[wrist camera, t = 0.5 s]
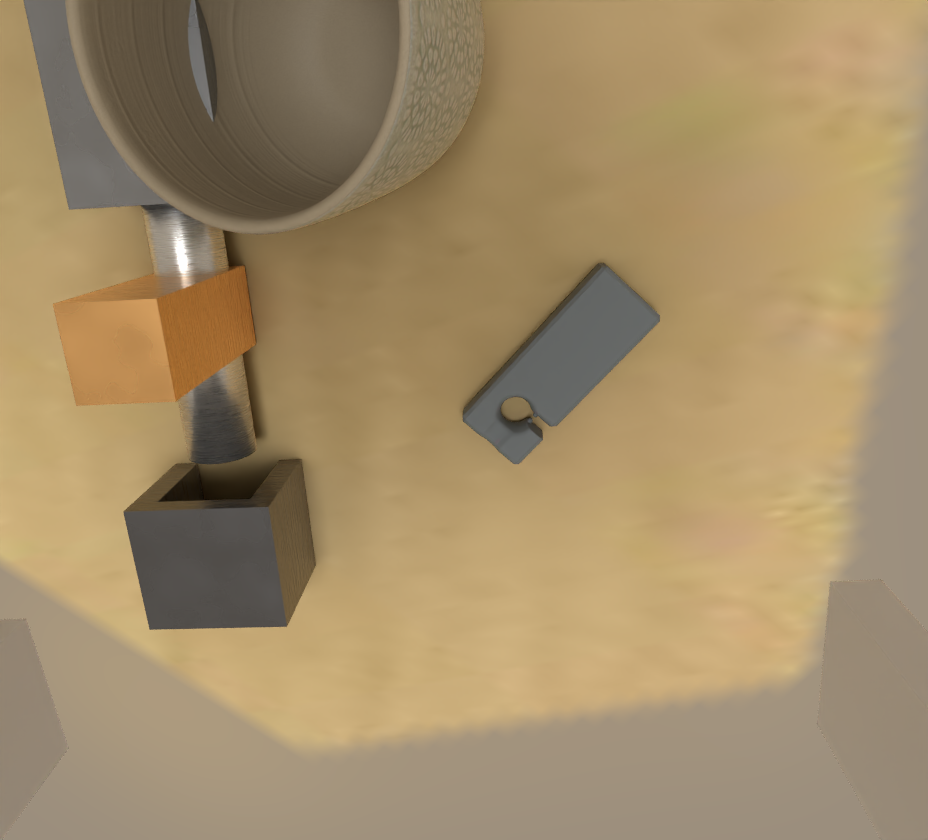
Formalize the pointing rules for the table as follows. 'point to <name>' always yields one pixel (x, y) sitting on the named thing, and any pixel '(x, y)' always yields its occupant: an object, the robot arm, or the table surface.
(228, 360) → the orange and grey piece
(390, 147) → the planter
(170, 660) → the table surface
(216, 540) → the socket
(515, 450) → the bracket
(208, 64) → the grey block
